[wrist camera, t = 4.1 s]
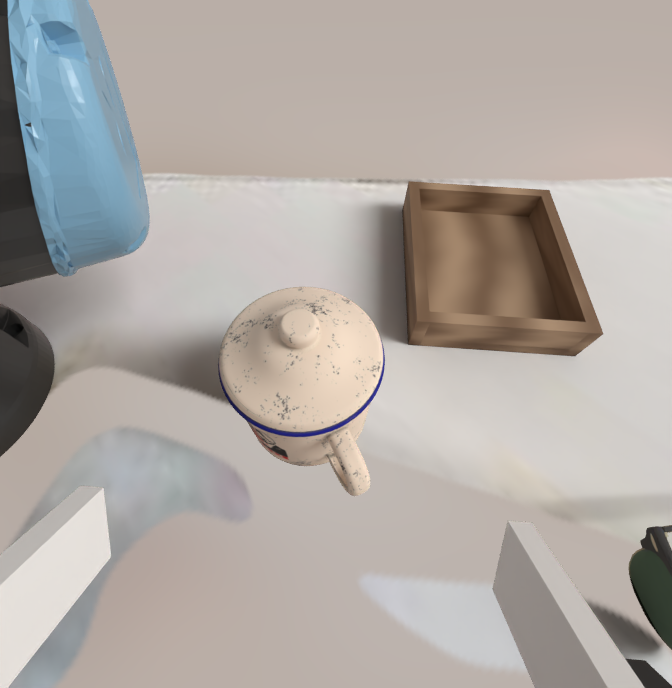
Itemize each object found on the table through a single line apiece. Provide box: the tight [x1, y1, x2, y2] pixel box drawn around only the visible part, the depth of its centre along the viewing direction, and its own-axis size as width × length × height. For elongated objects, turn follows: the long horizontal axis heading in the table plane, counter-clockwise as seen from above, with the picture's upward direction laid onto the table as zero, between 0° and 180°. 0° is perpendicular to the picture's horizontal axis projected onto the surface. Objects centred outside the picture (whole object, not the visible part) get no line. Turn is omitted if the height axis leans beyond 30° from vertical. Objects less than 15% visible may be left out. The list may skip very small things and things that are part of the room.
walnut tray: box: [402, 182, 603, 356], centre depth 32 cm, size 14×17×4 cm
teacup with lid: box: [218, 287, 385, 496], centre depth 21 cm, size 12×9×12 cm
